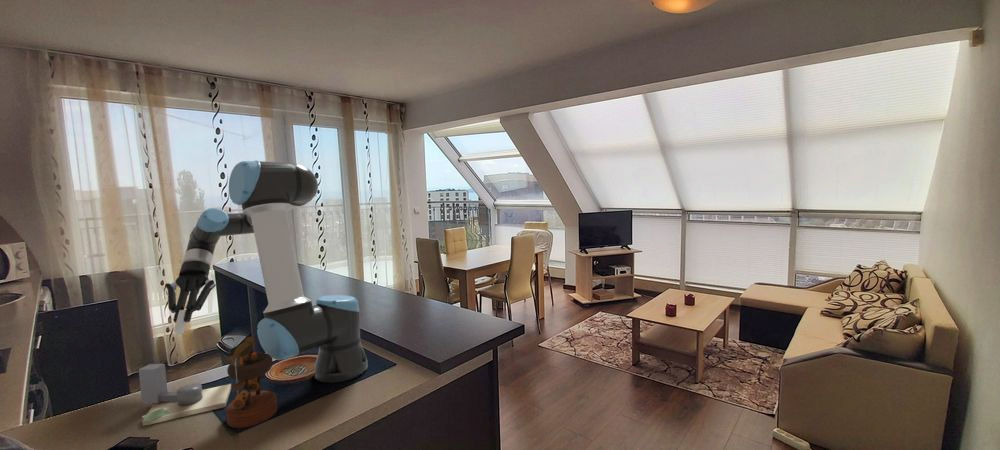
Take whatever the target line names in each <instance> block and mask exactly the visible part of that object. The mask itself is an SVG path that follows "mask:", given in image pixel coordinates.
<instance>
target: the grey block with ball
mask: <svg viewBox="0 0 1000 450" xmlns="http://www.w3.org/2000/svg"><path fill="white" fill-rule="evenodd" d="M166 371H167V370H166V364H165V363H149V364H147V365H145V366H143V367H140V368H139V369H138V376H139V388H140V395H141V397H140V398H141V404H152V403H159V402H163V401H178V405H180V406H184V405H190V404H193V403H195V402H198V401H199V400H201V399H202V398H203V395H202V390H203V386H202V384H201V383H197V382H196V383H191V384H186V385H184V386H182V387H179V388H178V389H177V390H176V391H169V390H168V381H167V373H166Z"/></svg>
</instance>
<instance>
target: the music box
mask: <svg viewBox="0 0 1000 450" xmlns="http://www.w3.org/2000/svg"><path fill="white" fill-rule="evenodd" d="M256 343H257V342H256V338H254V336H249V337H246V338H245V339H244V341H243V342H242V343H240V344H238V345H236V347H235V348H233V350H232V351H231V352H230V353H229V356H227V357H226V358H224V359H223V361H224V362H226V361H228V362H230V363H229V365H228V366H227V375H228V376H229V378H231V379H232V380H235V381H237V382H235V384H233V385H231V388H232V392H237V394H236V395H235V398H234V399H233V400H232V401H231V402H230V403H229V404H228V405H226V407H225V408H226V409H225V414H226V424H227V425H228V426H229V427H231V428H237V429H238V428H239V429H240V428H249V427H251V426H255V425H258V424H260V423H263V422H265V421H267V420H268V419H270V418H271V417H273V416H274V415H275V414H276V413H277V410H278V399H277V394H275V392H273V391H269V390H261V383H260V382H261V381H262V380H263V379H264V378H265V376H264V375H265V374H267V373H268V372H269V371H270V370H271V368H272V366H273V364H274V361H273V358H272V357H271V356H270V355H269V354H267V353H266V352H256V351H253V350H254V349H255V345H256ZM252 351H253V352H252ZM251 352H252V353H251ZM242 388H243V389H242ZM240 389H242V390H240ZM239 390H240V392H239Z"/></svg>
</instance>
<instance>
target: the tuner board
mask: <svg viewBox="0 0 1000 450" xmlns="http://www.w3.org/2000/svg"><path fill="white" fill-rule="evenodd" d="M231 390H232V383H228V384H223V385H219V386H215V387H209V388H205V389H202V395H203V398H202V399H201V400H199V401H198V402H195V403H193V404H190V405H184V406H180V405H178V401H163V402H159V403H150V405H151V408H150V409H149V410H148V412H147V413H146V414H145V415H142V416H141V418H143V419H142V426H143V427H145V425H146V426H149V425H152V424H157V423H162V422H167V421H170V420H174V419H179V418H184V417H188V416H192V415H196V414H201V413H205V412H209V411H213V410H214V411H215V410H219V409H223V408H226V407H227V403H228V400H229V396H230V393H231Z"/></svg>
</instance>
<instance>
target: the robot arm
mask: <svg viewBox="0 0 1000 450" xmlns="http://www.w3.org/2000/svg"><path fill="white" fill-rule="evenodd" d="M318 190H319V183H318V180H317V177H316V175H315V174H314V173H313V171H312V170H310V169H309V168H308V167H307V166H305V165H302V164H300V163H295V162H293V163H292V162H278V161H277V162H275V161H262V160H261V161H259V160H252V161H251V160H247V161H246V160H244V161H239V162H238V163H236V165H235V166H233V168H232V170H231V172H230V176H229V180H228V194H229V198H230V200H231V202H232V203H233V204H234V205H237V206H241V209H242V212H237V213H234V212H233V213H227V212H226V211H224V210H223V209H218V208H217V207H216V208H215V207H214V208H213V207H211V208H207V209H205V210H204V211H202V213H201V214H200V215H199V217H198V219H197V222H196V225H195V226H193V228H192V230H191V232H190V234H189V239H188V243H187V247H186V250H185V252H184V253H185V254H184V257H183V259H182V263H181V267H180V270H179V273H178V277H177V278H176V279H175V281H173V282H172V283H169V282H168V283H165V287H166V290H167V299H168V301H167V303H168V306H167V307H168V310H169V311H170V312H171V313H172V314H174V316H173V322H174V323H175V325H174V329H173V331H174V333H175V334H177V335H182V334H183V335H184V333H185V330H186V329H185V328H186V326H187V325H186V324H187V323H189V322H191V319H192V316H193V313H194V312H195V311H201V310H202V308H203V306H204V304H205V303H206V301H207V298H208V297H209V295H210V294H211V291H213V289H214V288H215V287H216V286H217V284H216V282H215V281H214V280H213V279H209V275H210V270H211V265H212V261H213V257H214V253H215V249H216V245H217V244H218V242H219V240H220V238H221V237H224V236H225V237H226V236H235V235H236V236H237V235H247V234H248V235H249V234H254V238H255V243H256V249H257V255H258V259H259V263H260V264H259V265H260V270H261V273H262V277H263V283H264V284H263V285H264V288H265V293H266V298H267V303H268V304H267V306H266V308H265V309H264V310H263V312H262V313H263V317H264V318H262V319H261V320H260V321H259V322H258V323H257V330H256V333H257V338H258V341H259V344H260V345H261V348H262V349H263V351H264V353H267V354H269V355H270V356H271V357H272V360H273V359H274V360H276V361H283V360H286V359H289V358H294V357H297V356H298V355H300V354H304V353H307V352H308V351H311V350H314V349H317V348H318V353H317V356H316V360H315V362H314V367H313V372H314V371H315V373H316V375H315V377H314V379H315V380H316V381H318V382H322V383H329V384H330V383H340V382H346V381H348V380H351V379H355V378H357V377H359V376H360V374H361V375H362V374H364V373H365V372H366V371H367V369H368V364H369V363H368V358H367V355H366V353H365V350H364V348H363V346H362V343H361V328H360V327H361V325H360V312H361V311H360V306H359V300H358V298H356V297H354V296H351V295H343V294H342V295H341V294H340V295H339V294H333V295H332V294H331V295H330V294H329V295H324V296H323V295H321V296H319V297H317V298H316V301H315V305H313V303H312V299H310V298H308V297H306V296H305V295H304V289H303V285H302V279H301V276H300V270H299V266H298V261H297V256H296V251H295V247H294V242H293V237H292V233H291V226H290V223H289V218H288V212H290V211H291V210H293V209H294V208H296V207H303V206H305V205H306V204H308V203H309V202H311V201H312V200H313V199H314V198H315V197H316V196H317V193H318ZM177 287H178V288H179V291H180V292H179V294H178V298H177V297H176V296H177V295H176V294H177V293H176V291H177ZM200 291H201V292H200ZM365 370H366V371H365ZM364 371H365V372H364ZM363 372H364V373H363ZM358 375H359V376H358Z"/></svg>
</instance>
